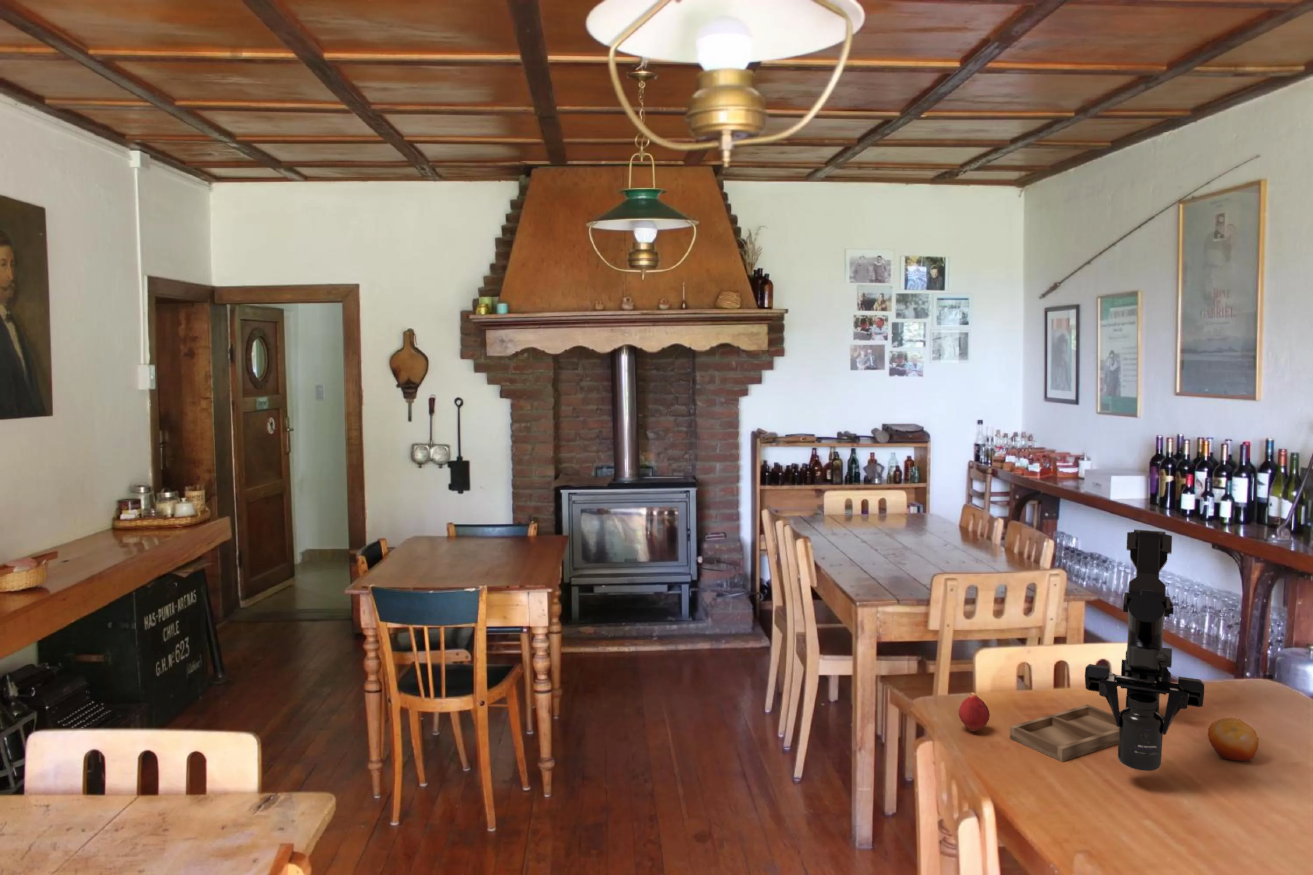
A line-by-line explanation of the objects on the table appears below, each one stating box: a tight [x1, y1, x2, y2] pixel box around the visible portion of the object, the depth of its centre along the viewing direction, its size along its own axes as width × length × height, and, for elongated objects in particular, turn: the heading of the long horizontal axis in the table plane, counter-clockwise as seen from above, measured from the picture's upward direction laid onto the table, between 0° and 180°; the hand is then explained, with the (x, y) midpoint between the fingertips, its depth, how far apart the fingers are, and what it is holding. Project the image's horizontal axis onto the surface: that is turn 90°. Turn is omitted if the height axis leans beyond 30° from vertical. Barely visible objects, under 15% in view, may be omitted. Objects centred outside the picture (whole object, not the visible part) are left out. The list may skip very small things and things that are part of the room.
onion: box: [958, 692, 991, 732], centre depth 185 cm, size 6×6×8 cm
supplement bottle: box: [1117, 693, 1164, 772], centre depth 161 cm, size 7×7×12 cm
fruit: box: [1207, 717, 1260, 762], centre depth 173 cm, size 8×8×8 cm
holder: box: [1009, 704, 1119, 763], centre depth 182 cm, size 23×12×2 cm, turn 118°
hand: (1140, 729), depth 160 cm, fingers closed on supplement bottle, 7 cm apart
